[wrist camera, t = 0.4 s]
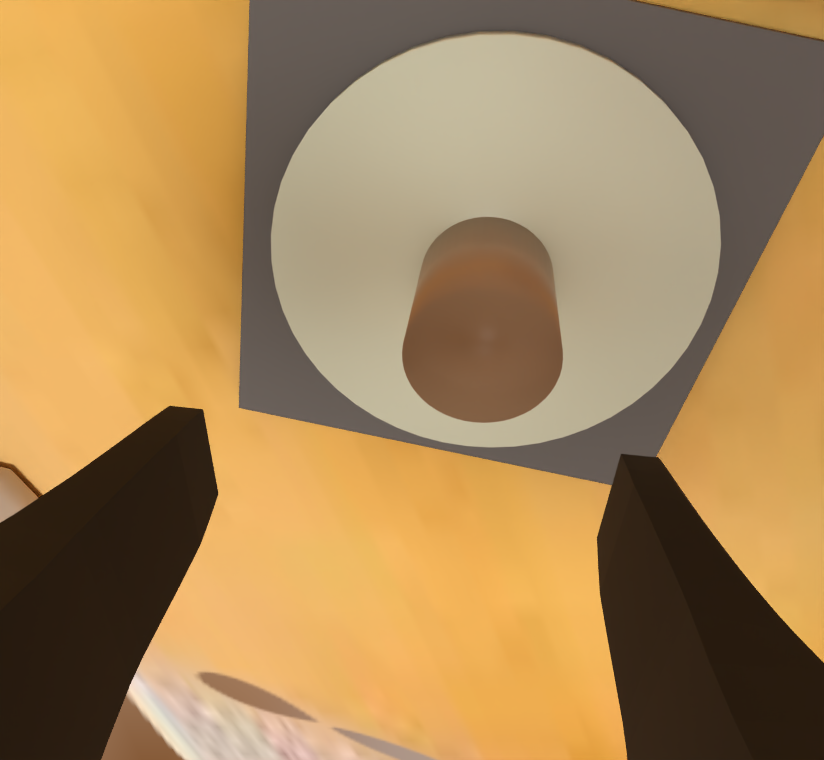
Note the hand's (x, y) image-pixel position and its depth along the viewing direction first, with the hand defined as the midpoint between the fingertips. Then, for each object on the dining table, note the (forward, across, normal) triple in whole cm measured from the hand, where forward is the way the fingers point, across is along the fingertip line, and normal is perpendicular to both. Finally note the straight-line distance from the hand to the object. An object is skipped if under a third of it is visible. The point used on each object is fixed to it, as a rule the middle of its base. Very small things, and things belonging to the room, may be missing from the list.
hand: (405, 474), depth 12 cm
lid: (+9, -1, 0) cm, 9 cm away
